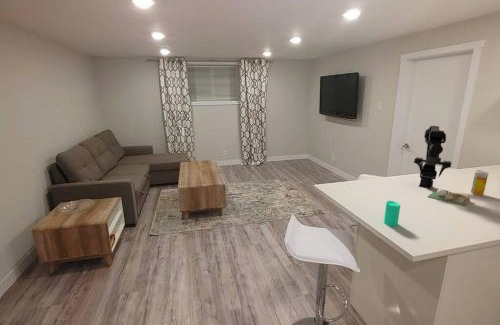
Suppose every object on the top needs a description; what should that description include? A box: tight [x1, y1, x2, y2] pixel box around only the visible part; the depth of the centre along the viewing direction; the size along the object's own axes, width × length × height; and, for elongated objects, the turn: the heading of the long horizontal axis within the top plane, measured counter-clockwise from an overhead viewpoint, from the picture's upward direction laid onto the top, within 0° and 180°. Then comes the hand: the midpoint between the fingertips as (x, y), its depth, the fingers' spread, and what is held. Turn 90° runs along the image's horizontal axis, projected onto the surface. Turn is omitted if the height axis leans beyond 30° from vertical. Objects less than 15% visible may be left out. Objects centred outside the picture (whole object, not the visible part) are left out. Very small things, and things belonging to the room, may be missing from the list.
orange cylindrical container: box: [470, 169, 489, 197], centre depth 163 cm, size 6×6×15 cm
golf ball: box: [436, 188, 447, 196], centre depth 161 cm, size 4×4×4 cm
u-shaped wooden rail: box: [445, 191, 471, 205], centre depth 155 cm, size 10×9×2 cm
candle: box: [383, 200, 401, 227], centre depth 127 cm, size 6×6×12 cm
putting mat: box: [427, 190, 471, 207], centre depth 159 cm, size 18×14×1 cm
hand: (430, 175), depth 165 cm, fingers open, 9 cm apart
